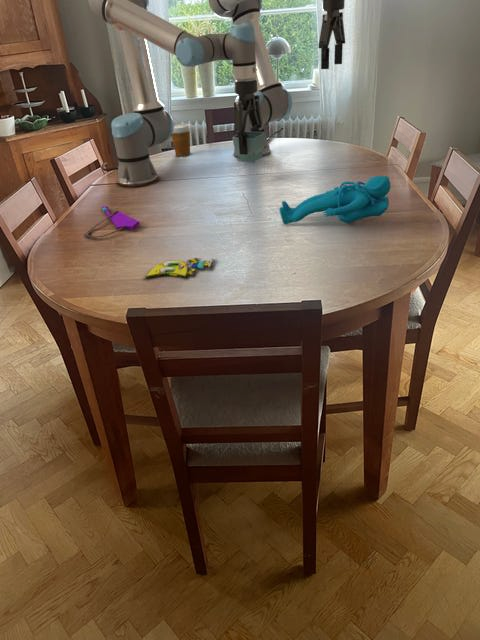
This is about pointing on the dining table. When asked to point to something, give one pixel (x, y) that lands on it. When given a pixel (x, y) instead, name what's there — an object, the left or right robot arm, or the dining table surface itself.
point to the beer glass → (181, 139)
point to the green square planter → (251, 146)
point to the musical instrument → (117, 221)
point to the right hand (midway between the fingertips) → (331, 66)
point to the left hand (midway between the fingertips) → (249, 150)
